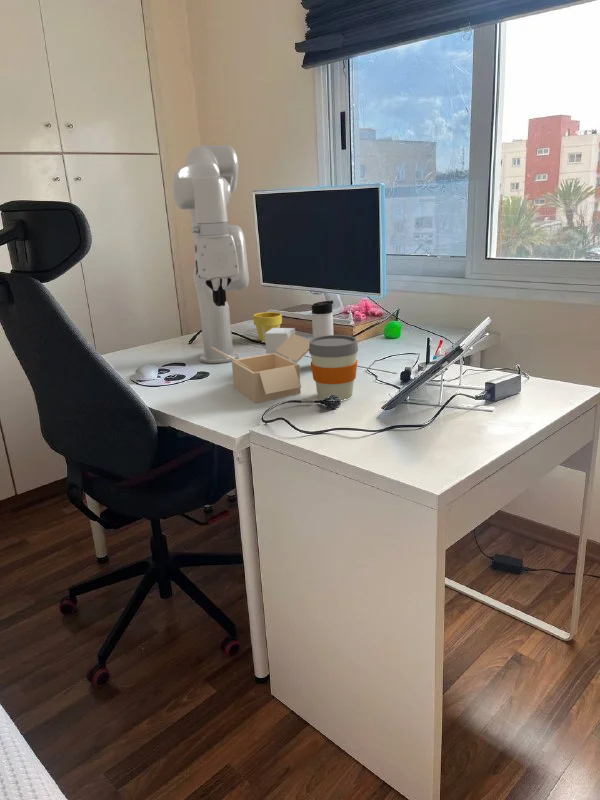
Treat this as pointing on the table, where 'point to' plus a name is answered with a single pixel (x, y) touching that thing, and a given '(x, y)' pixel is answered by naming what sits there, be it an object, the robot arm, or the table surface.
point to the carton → (266, 377)
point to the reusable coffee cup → (334, 365)
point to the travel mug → (322, 319)
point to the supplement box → (277, 340)
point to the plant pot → (266, 322)
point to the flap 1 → (231, 358)
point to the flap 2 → (294, 347)
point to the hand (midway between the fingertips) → (220, 305)
